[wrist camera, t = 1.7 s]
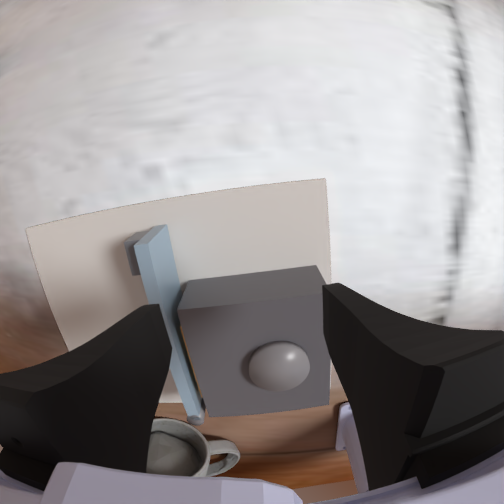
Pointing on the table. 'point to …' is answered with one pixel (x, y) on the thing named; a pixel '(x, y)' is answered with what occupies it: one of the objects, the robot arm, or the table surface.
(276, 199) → the mat
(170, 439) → the ceramic mug
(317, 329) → the camera housing
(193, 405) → the side door
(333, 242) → the table surface
